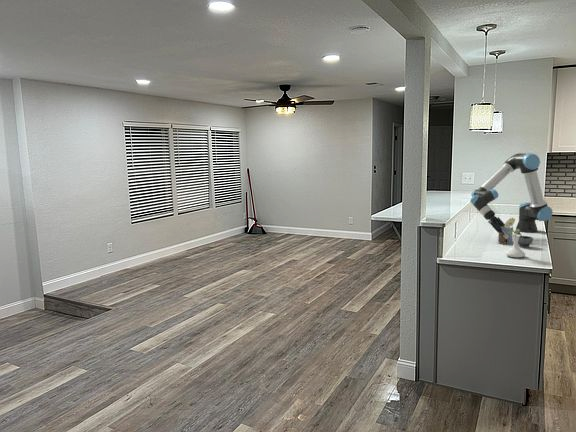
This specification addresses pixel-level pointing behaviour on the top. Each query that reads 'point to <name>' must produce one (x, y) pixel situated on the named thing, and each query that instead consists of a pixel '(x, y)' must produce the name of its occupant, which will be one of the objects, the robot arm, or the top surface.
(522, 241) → the mortar and pestle
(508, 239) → the slotted block
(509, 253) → the flower in vase
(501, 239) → the wooden drawer pull
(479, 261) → the top surface
